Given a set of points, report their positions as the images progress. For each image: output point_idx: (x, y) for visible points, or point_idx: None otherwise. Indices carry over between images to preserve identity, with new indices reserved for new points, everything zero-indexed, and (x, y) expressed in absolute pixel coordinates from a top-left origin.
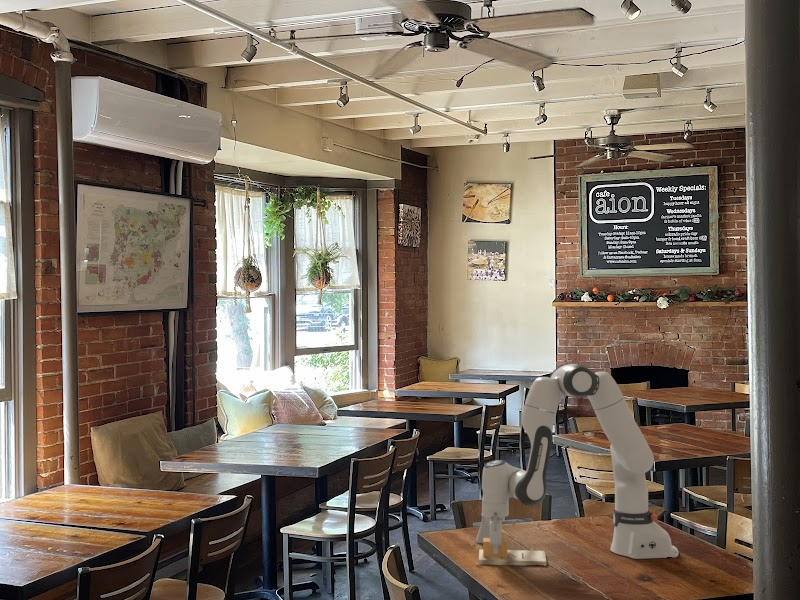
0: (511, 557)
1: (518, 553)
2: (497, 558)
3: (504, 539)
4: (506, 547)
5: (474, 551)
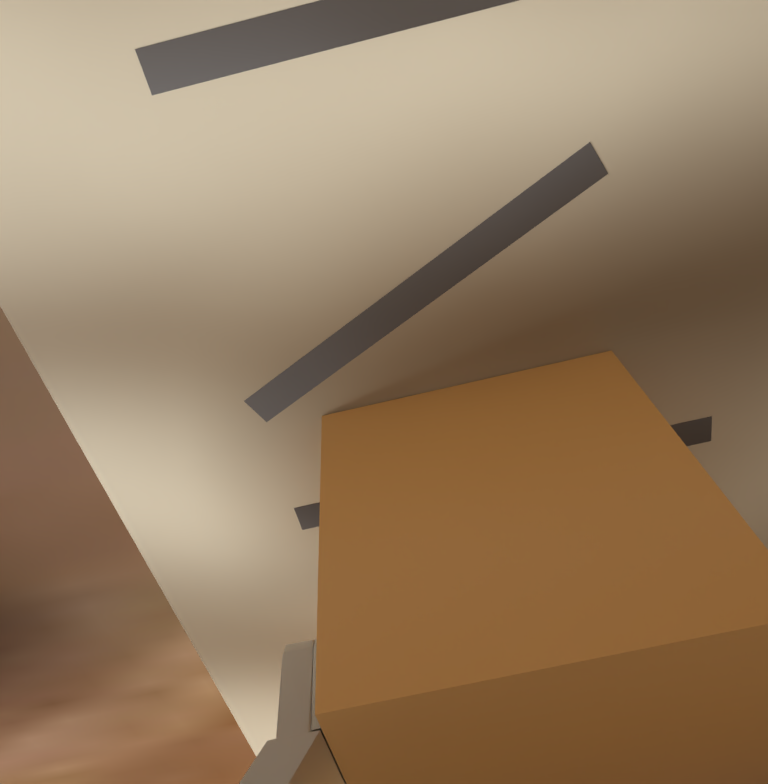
0: (628, 262)
1: (246, 171)
2: (721, 490)
3: (483, 740)
4: (715, 502)
5: (197, 780)
